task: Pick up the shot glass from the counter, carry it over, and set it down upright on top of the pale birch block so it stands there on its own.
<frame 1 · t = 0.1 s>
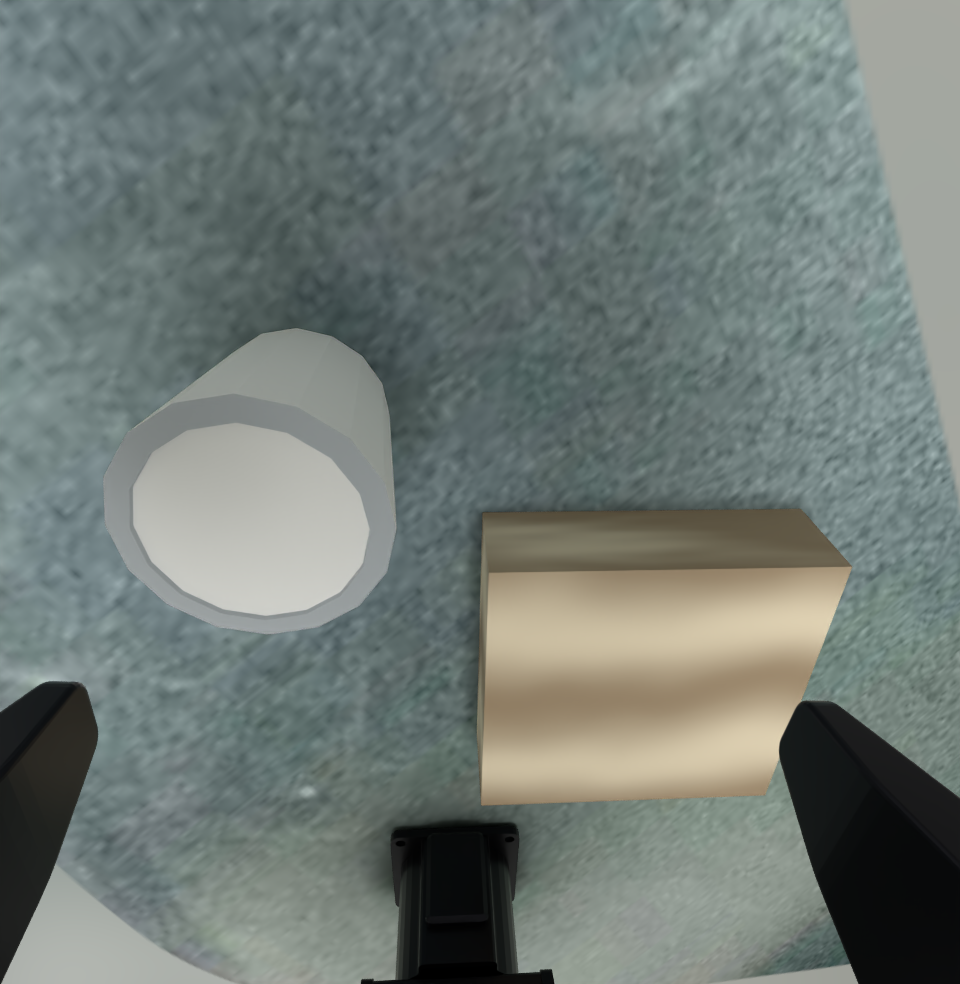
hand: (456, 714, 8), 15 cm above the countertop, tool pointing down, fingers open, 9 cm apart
shot glass: (304, 409, 22), on the countertop
birch block: (620, 625, 28), on the countertop
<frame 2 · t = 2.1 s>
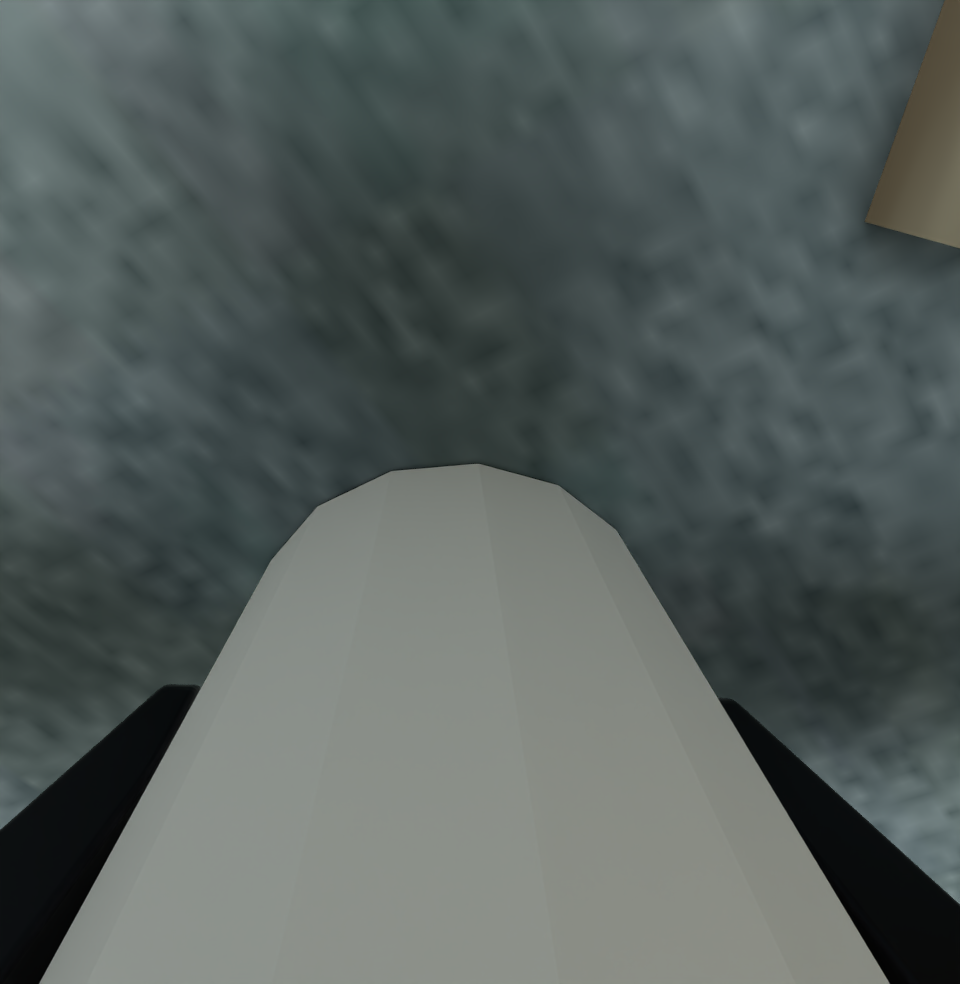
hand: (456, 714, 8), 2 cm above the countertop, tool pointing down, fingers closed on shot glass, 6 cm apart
shot glass: (454, 622, 10), on the countertop, touching gripper
when the fingers open (6 cm above the countertop, at t = 6.8 s): shot glass drops 1 cm, resting on birch block.
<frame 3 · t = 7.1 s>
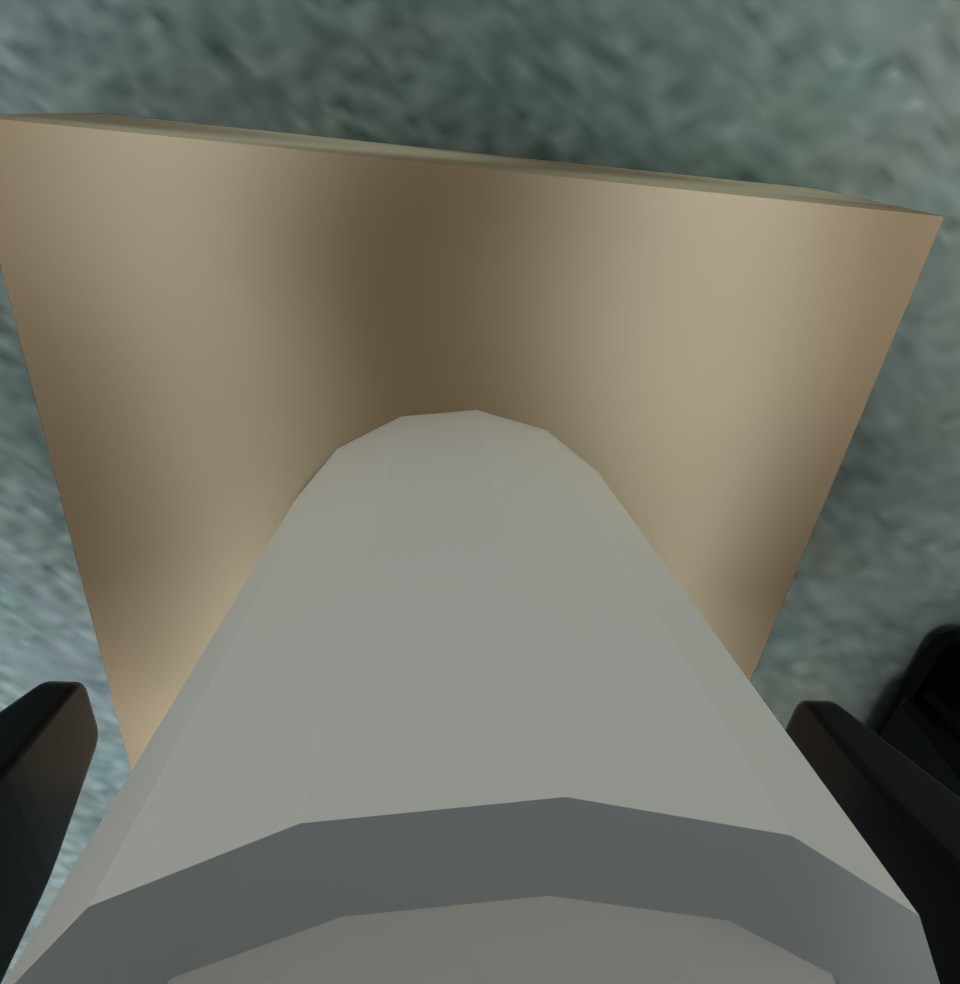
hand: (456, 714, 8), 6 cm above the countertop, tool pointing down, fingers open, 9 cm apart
shot glass: (455, 560, 11), point 3 cm above the countertop, touching birch block
birch block: (448, 456, 14), on the countertop, touching shot glass
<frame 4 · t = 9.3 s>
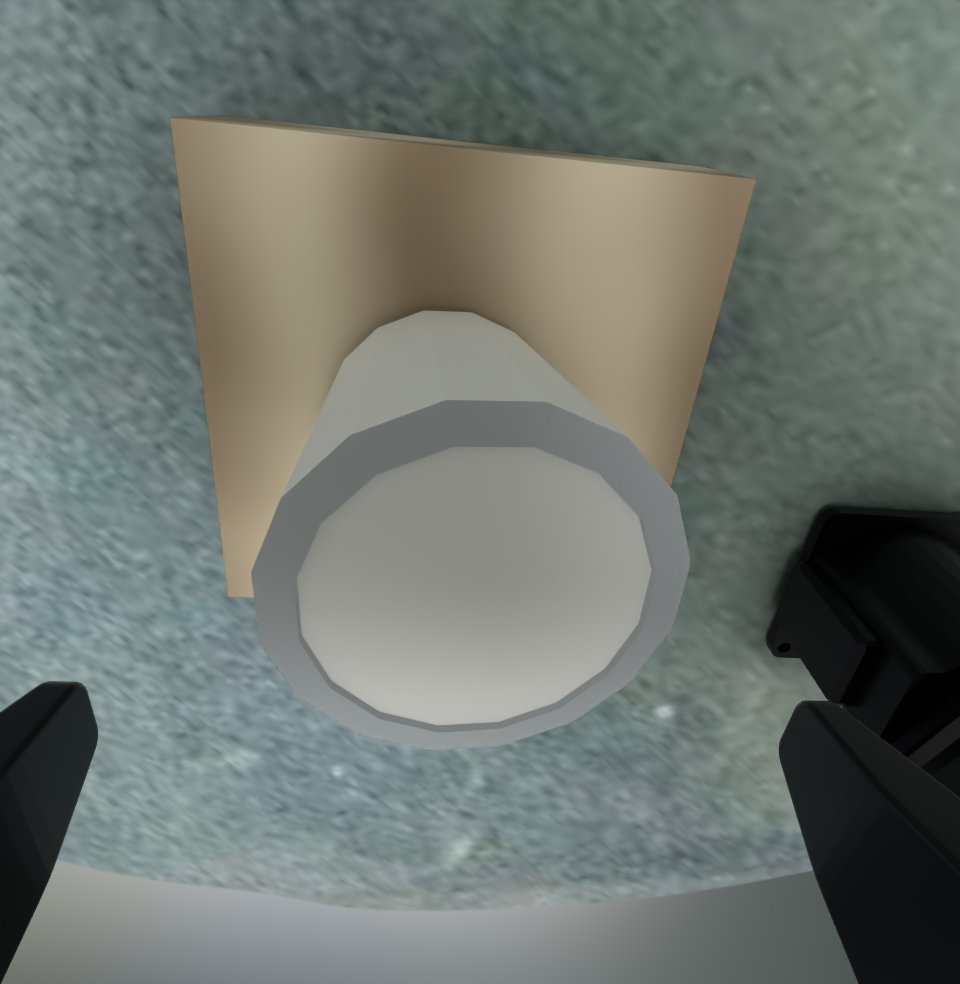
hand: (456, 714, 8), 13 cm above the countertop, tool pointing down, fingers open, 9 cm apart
shot glass: (442, 420, 16), point 3 cm above the countertop
birch block: (451, 364, 20), on the countertop
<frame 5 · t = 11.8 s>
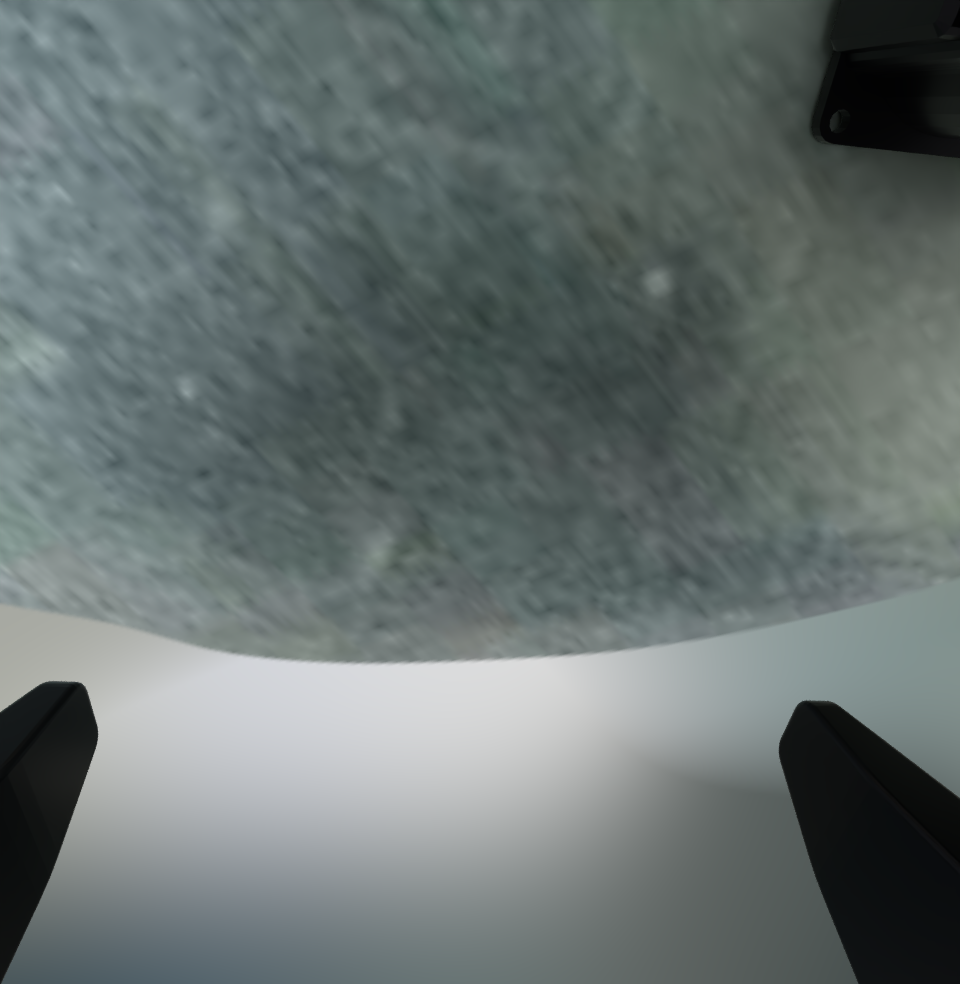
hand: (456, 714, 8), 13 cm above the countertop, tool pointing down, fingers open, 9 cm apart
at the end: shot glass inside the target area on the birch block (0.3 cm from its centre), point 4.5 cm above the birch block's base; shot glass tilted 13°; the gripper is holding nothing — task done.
